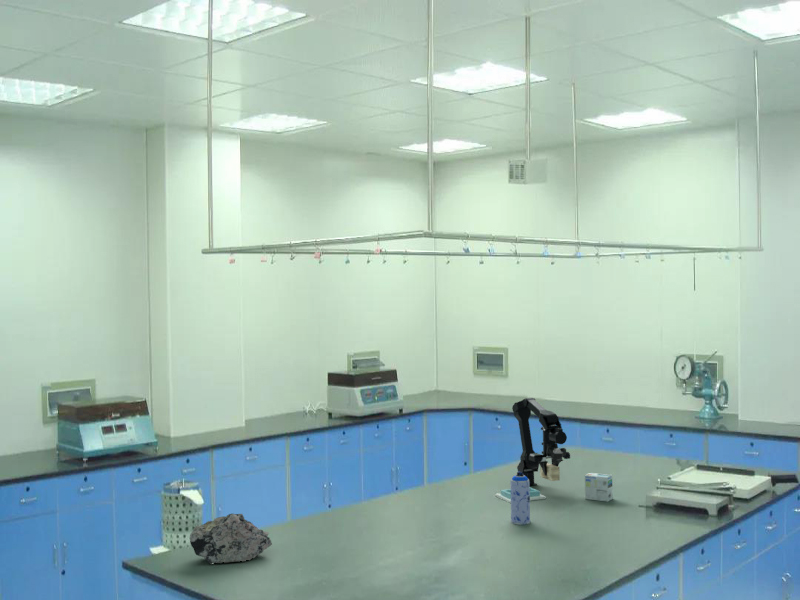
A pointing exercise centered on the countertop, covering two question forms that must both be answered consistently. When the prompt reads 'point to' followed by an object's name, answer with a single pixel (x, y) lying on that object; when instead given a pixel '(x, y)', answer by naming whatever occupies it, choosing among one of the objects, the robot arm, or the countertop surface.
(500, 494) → the keyed cradle
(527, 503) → the aerosol can
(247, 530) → the mineral sample
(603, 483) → the light bulb box
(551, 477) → the key block
